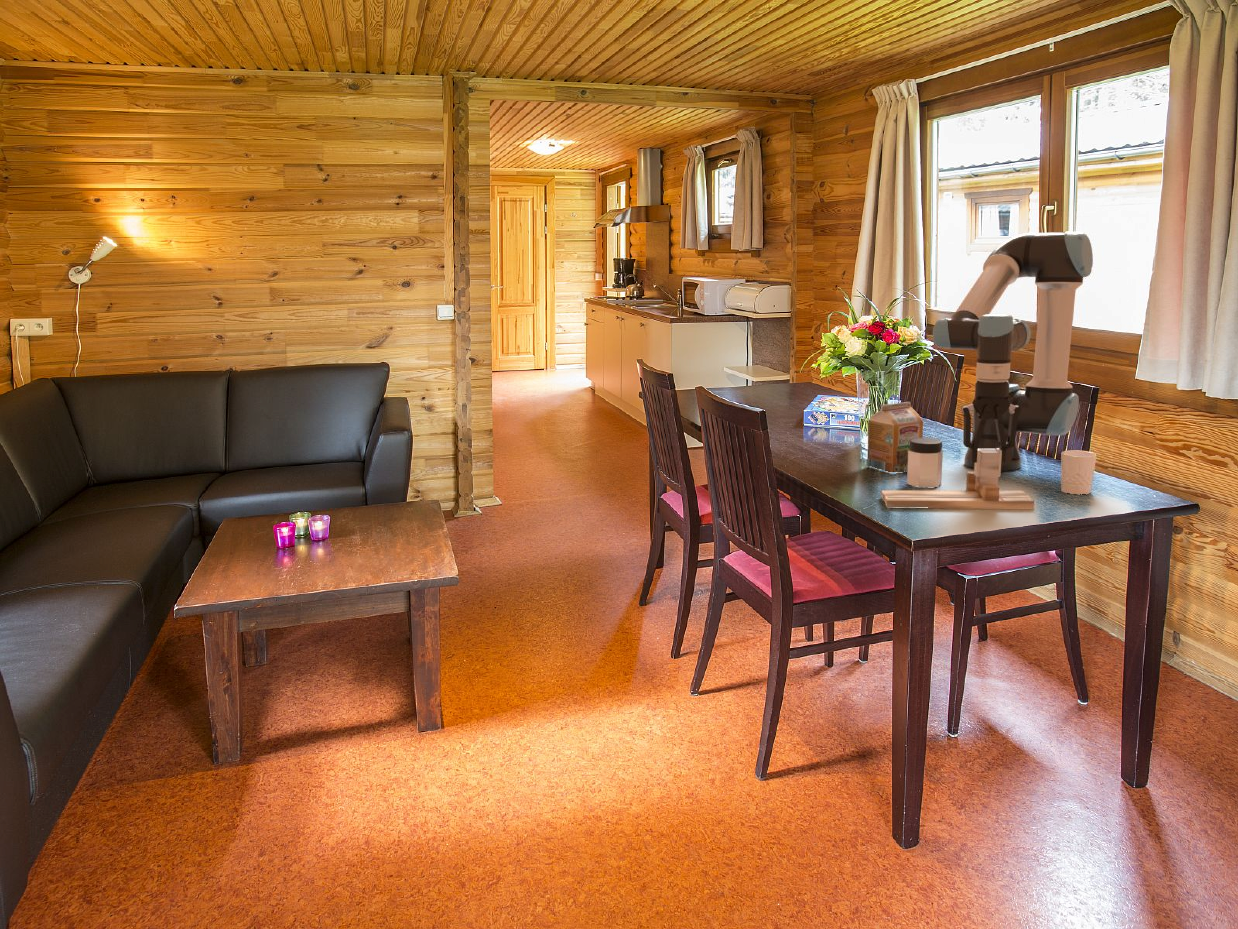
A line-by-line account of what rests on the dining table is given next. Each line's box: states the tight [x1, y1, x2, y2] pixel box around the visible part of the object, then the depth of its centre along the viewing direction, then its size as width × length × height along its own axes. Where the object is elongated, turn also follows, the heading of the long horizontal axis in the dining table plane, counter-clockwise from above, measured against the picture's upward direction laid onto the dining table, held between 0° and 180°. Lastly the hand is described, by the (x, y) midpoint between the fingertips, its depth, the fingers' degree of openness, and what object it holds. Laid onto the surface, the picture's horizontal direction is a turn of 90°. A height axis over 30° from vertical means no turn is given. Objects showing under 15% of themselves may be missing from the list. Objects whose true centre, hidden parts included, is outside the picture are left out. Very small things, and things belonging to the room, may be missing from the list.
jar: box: [906, 437, 944, 488], centre depth 246 cm, size 9×8×12 cm
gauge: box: [965, 448, 1000, 501], centre depth 227 cm, size 14×6×13 cm, turn 172°
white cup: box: [1060, 449, 1097, 496], centre depth 235 cm, size 8×8×10 cm
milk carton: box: [866, 401, 924, 472], centre depth 265 cm, size 11×11×19 cm
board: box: [880, 489, 1035, 510], centre depth 229 cm, size 10×34×2 cm, turn 82°
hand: (987, 475), depth 226 cm, fingers closed on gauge, 4 cm apart
